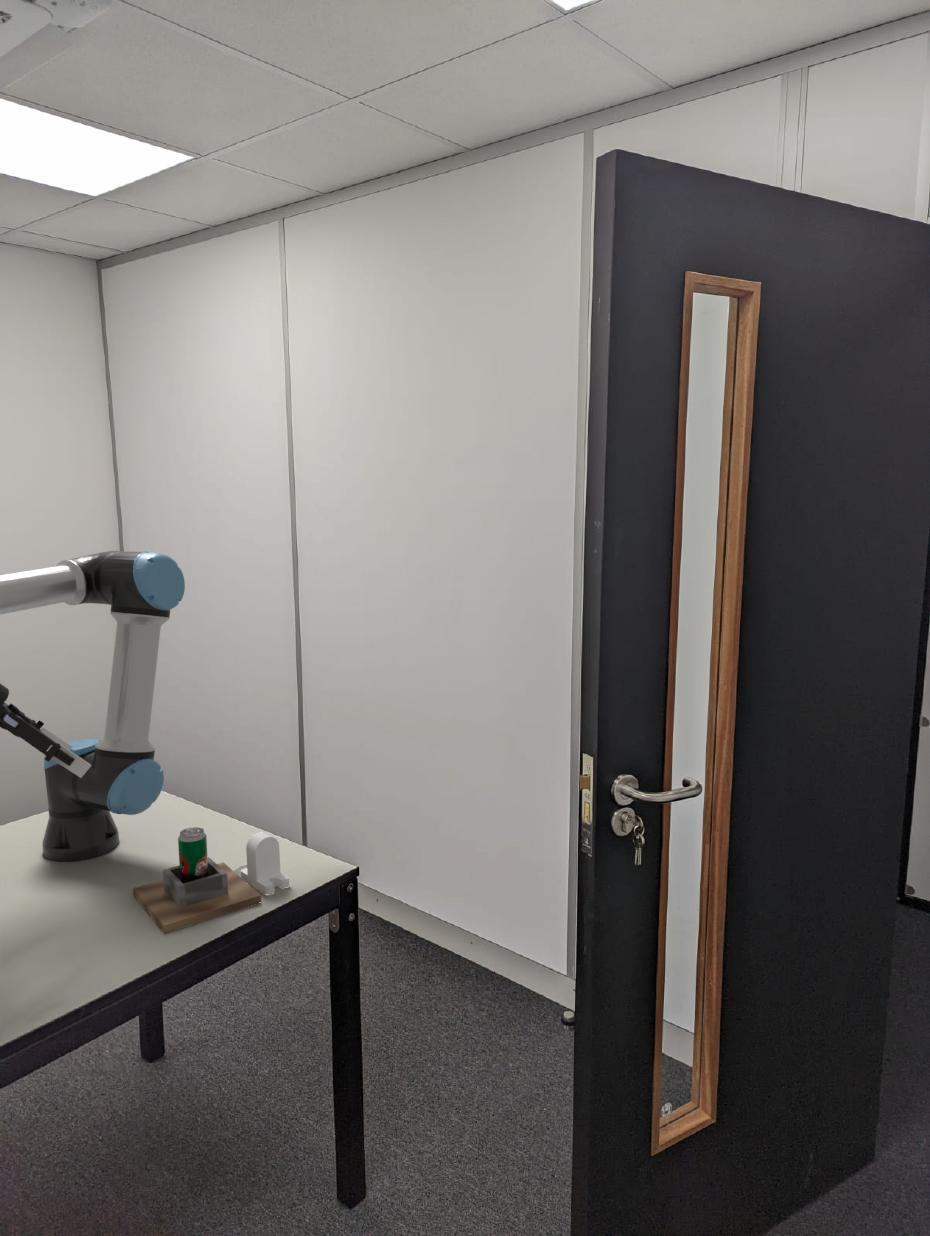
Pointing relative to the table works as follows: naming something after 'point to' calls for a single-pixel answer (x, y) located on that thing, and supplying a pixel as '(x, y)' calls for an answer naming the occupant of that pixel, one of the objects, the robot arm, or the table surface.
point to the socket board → (194, 897)
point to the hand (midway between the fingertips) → (76, 761)
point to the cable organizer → (263, 864)
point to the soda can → (192, 854)
